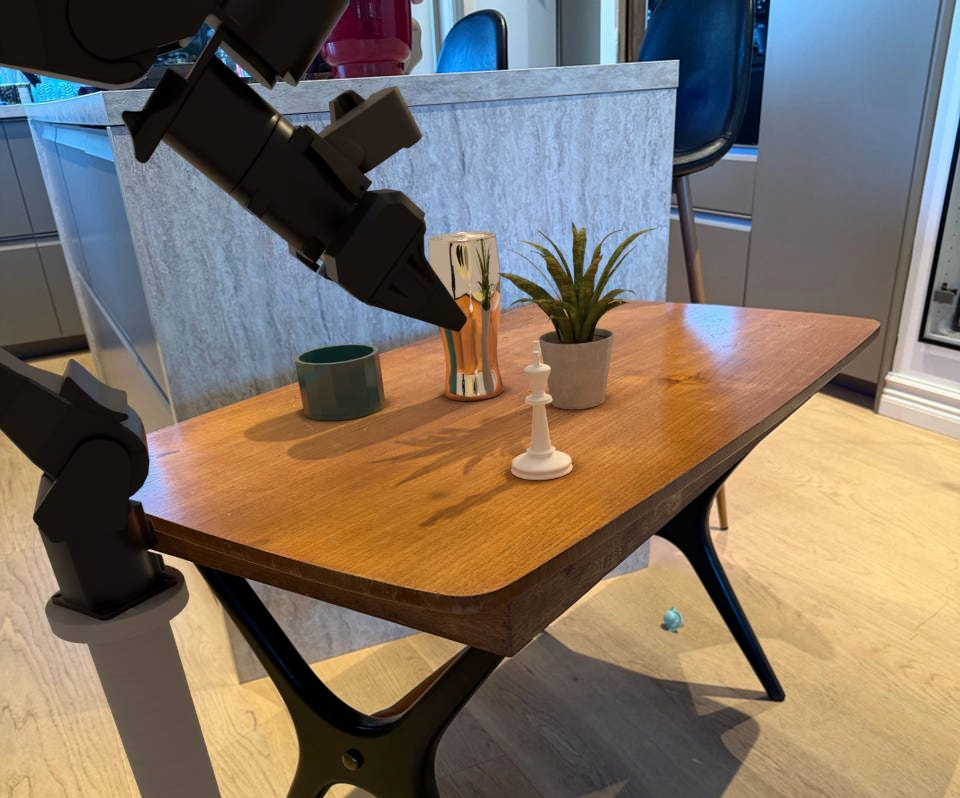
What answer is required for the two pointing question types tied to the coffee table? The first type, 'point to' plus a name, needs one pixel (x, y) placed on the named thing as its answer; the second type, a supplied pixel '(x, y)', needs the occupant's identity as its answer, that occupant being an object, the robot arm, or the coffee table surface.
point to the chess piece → (540, 430)
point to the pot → (340, 381)
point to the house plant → (576, 322)
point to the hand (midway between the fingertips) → (441, 314)
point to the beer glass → (470, 312)
